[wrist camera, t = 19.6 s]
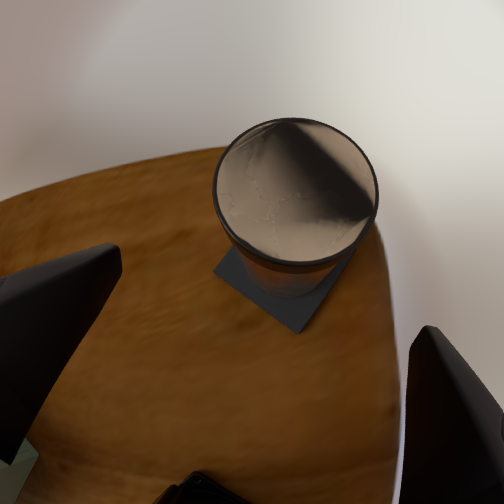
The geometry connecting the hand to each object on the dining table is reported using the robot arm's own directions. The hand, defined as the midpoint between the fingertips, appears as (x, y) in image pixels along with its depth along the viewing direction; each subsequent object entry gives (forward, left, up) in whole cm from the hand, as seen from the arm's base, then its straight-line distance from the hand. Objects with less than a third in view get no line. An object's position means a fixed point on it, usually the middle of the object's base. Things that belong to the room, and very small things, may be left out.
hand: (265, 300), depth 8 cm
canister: (+1, -3, -10) cm, 11 cm away
